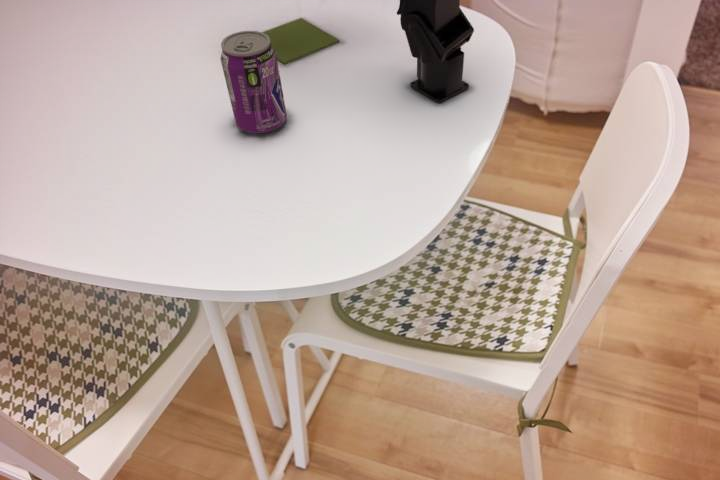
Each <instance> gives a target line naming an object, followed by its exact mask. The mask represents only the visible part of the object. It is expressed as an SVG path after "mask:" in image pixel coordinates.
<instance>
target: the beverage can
mask: <svg viewBox="0 0 720 480" xmlns="http://www.w3.org/2000/svg"><path fill="white" fill-rule="evenodd" d="M262 32H263V31H257V30H242V31H237V32H233V33H231V34H228V35H227V36H225V38H223V39H222V41H221V42H220V47H221V53H220V62H221V68H222V71H223V76H224V80H225V84H226V88H227V93H228V97H229V100H230V106H231V110H232V113H233V118H234V121H235V125H236V127H238V129H240V130H242V131H244V132H247V133H251V134H262V133H263V134H264V133H268V132H272V131H274V130H276V129H278V128H280V127H281V126H282V125H283V124H284V123H285V122H286V121H287V116H288V115H287V110H286V109H287V108H286V104H285V97H284V92H283V85H282V79H281V74H280V67H279V62H278V61H279V60H277V55H276V51H275V49H274V48H273V46H272V45H271V42H270V38H269V36H268V35H266V34H265V33H262Z"/></svg>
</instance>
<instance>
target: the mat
mask: <svg viewBox="0 0 720 480" xmlns="http://www.w3.org/2000/svg"><path fill="white" fill-rule="evenodd" d="M261 32H262V33H265V34H266V35H268V36H269V38H270V42H271V45H272V46H273V48H274V49H275V51H276V55H277V61H279V62H280V63H281V64H283V65H286V64H289V63H292V62H294V61H297V60H299V59H301V58H304V57H306V56H309V55H311V54H314V53H316V52H318V51H321V50H324V49H326V48H329V47H332V46H333V45H336V44H338V43H340V39H339V38H337V37H335V36H333V35H331V34H329V33H328V32H326V31H324V30H323V29H321V28H319V27H317V26H316V25H315V24H313V23H311V22H310V21H307V20H305V19H304V18H302V17H300V18H297V19H293V20H292V21H289V22H286V23H284V24H281V25H278V26H276V27H273V28H270V29H268V30H265V31H261Z"/></svg>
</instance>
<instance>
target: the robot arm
mask: <svg viewBox="0 0 720 480" xmlns="http://www.w3.org/2000/svg"><path fill="white" fill-rule="evenodd" d="M460 4H461V3H460V0H399V6H398V9H397V11H396V15H397V16H399V15H400V18H399V20H400V26H401V30H402V31H404V33H405V36H406V41H407V43H408V47H409V50H410V55H411V56H412V58H415V59H416V78H417V79H415V80H413V81H411V82H410V84H409V85H410V88H412V89H414V90H416V91H417V92H419V93H420V94H422V95H424V96H426V97H427V98H429V99H431V100H433V102H436V103H439V104H440V103H442V102H444V101H447V100H449V99H451V98H453V97H454V96H456V95H458V94H460V93H462V92H464V91H466V90H468V89H470V84H469V83H468V82H466V81H464V80H463V75H464V62H465V52H464V51H462V47H463V46H464V45H465V44H466V43H468V42H470V41H471V38H472V36H473V34H474V32H475V29H474V27H473V25H472V23H471V22H470V21H469V19H468V18H467V16H466V15H465V13H464V12H463V10H462V9H461V5H460Z"/></svg>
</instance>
